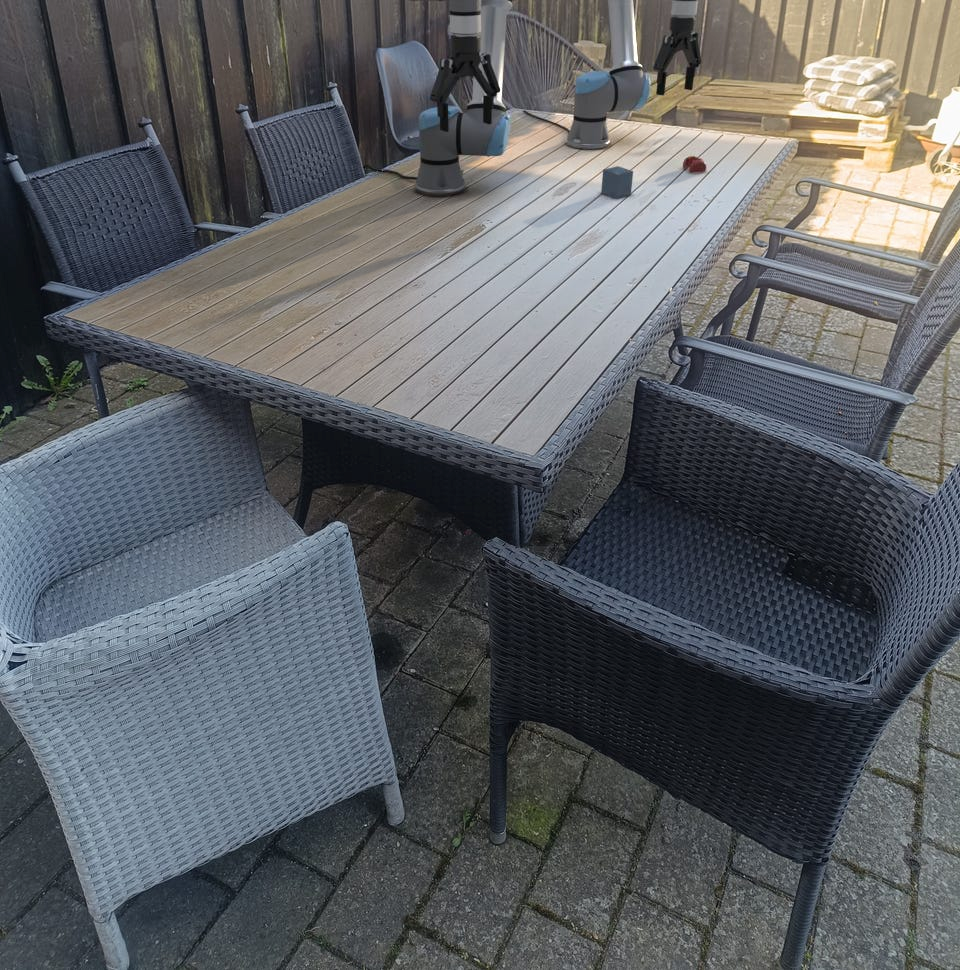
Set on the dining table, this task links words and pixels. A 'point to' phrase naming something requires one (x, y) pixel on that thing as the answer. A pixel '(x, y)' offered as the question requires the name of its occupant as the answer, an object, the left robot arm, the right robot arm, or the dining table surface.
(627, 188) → the cube
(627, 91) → the right robot arm
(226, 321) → the dining table surface
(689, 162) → the dark red rounded lump
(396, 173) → the left robot arm
